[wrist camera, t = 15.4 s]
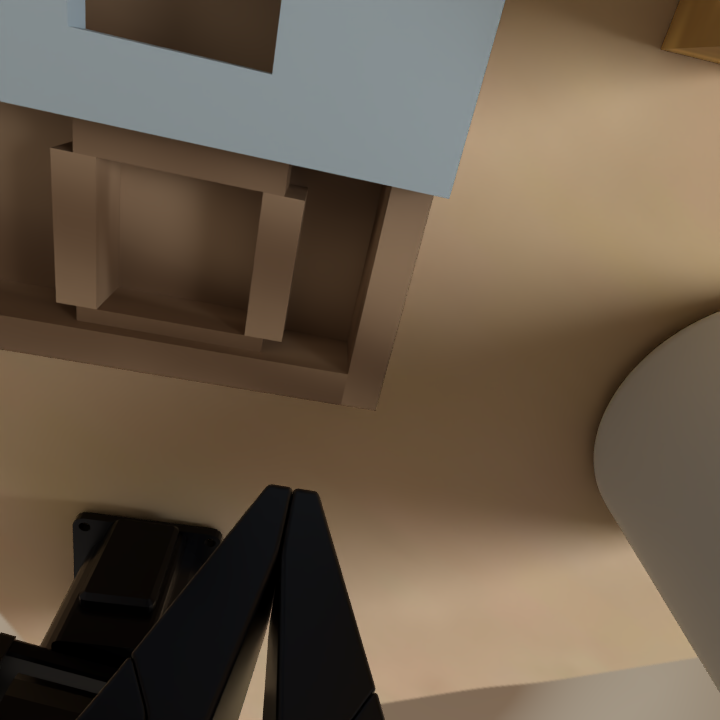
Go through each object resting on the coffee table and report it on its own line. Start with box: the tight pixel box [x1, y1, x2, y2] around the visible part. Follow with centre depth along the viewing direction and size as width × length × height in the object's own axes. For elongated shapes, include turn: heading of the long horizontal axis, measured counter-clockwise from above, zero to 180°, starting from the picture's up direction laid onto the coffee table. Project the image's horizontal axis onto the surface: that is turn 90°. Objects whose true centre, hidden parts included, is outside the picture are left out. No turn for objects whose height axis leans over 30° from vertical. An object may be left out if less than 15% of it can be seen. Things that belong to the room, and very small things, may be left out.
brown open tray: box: [0, 0, 434, 411], centre depth 16 cm, size 16×20×4 cm
